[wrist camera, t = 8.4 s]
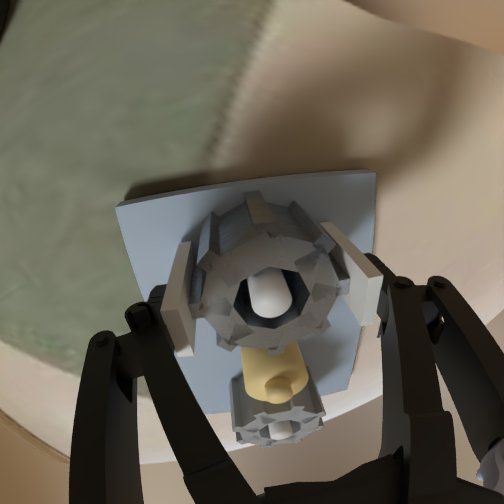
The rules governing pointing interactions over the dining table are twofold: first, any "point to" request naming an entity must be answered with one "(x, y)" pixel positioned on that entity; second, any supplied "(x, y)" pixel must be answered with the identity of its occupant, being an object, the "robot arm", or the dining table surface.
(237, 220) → the gear
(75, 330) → the dining table surface
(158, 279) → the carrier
